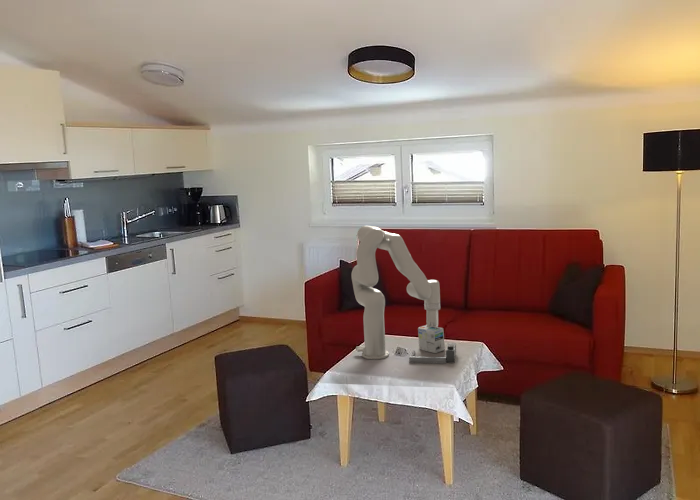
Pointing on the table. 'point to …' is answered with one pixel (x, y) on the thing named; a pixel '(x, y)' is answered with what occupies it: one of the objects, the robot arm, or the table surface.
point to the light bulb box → (431, 338)
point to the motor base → (448, 357)
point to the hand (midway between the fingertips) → (433, 342)
